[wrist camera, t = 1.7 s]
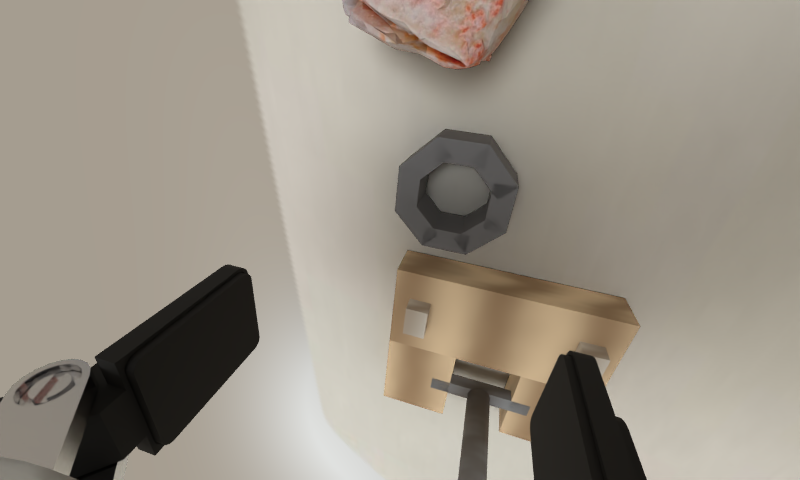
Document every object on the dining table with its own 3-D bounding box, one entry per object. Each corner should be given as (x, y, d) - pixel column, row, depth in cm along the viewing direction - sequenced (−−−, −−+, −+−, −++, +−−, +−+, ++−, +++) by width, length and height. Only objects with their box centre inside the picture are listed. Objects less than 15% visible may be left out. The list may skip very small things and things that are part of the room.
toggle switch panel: (625, 298, 24) (707, 451, 14) (560, 419, 30) (587, 579, 21) (407, 250, 27) (355, 349, 17) (392, 370, 33) (349, 489, 24)
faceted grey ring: (525, 140, 21) (529, 150, 18) (498, 241, 24) (498, 261, 22) (414, 124, 22) (402, 131, 20) (403, 221, 26) (392, 238, 23)
